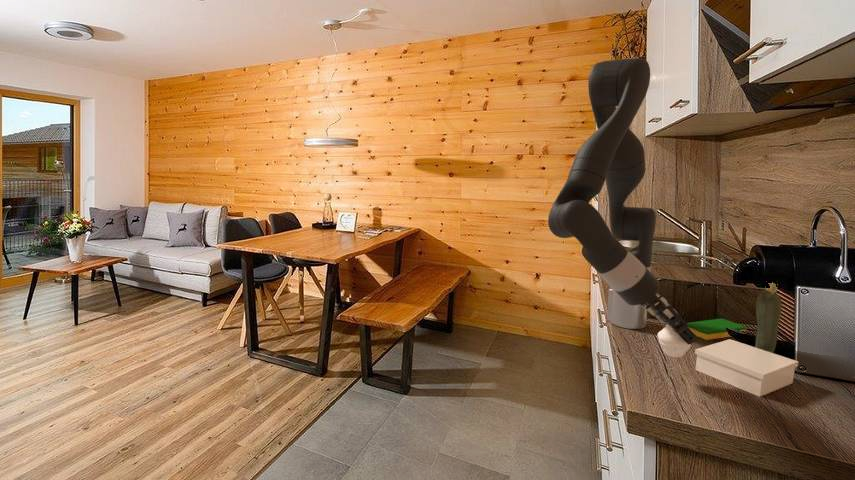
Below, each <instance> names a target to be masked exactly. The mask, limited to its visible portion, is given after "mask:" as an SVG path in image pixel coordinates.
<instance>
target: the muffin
mask: <svg viewBox="0 0 855 480" xmlns="http://www.w3.org/2000/svg"><path fill="white" fill-rule="evenodd" d="M676 324H677V323H676ZM676 324H675V325H676ZM657 338H658V343H659V345H660V347H661V350H662V351H663V354H665V355H667V356H669V357H672V358H681V357H683V356H684V355H685V354H686V353H687V351H688V350H689V348H690V347H691V345H692V344H687V343H686V342H685V341H684V340H683V339H682V338H681V337H680V336H679V335H678V334H677V333H676V332H674V331H673V329H672V328H670V327H669V326H668V325H667V324H666V325H665V327H663V328H662V329H661V330H660V331H658V332H657Z"/></svg>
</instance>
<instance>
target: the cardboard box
mask: <svg viewBox="0 0 855 480" xmlns="http://www.w3.org/2000/svg"><path fill="white" fill-rule="evenodd" d="M694 355H696V361H695V362H696V363H695V371H698V372H700V373H701V374H705V375H707V376H709V377H712V378H714V379H716V380H718V381H721V382H724V383H726V384H728V385H730V386H733V387H734V388H735V387H736V388H738V389H740V390H743V391H746V392H748V393H750V394H752V395H755V396H757V397H759V398H760V397H763V396H765V395H767V394H770V393H771V392H772V393H773V392H775V391H777V390H780V389H781V388H784V387H787V386H788V385H791V384H793V383H794V376H795V368H797V367H798V366H799V361H797V360H795V359H791V358H789V357H785V356H783V355H780V354H777V353H774V352H773V353H771V352H768V351H764V350H761V349H758V348H755V346H753V345H749V344H746V343H742V342H740V341H736V340H733V339H730V338H729V339H726V340H723V341H720V342H715V343H712V344H709V345H705V346H702V347H699V348H695V349H694Z"/></svg>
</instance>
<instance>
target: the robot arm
mask: <svg viewBox="0 0 855 480" xmlns="http://www.w3.org/2000/svg"><path fill="white" fill-rule="evenodd" d="M650 81H651V68H650V64H649V62H648V61H647V59H644V58H643V57H634V58H632V57H631V58H622V59H612V60H611V59H610V60H602V61H600V62H596V63H595V64H594V65H593V66H592V67H591V70H590V71H589V75H588V82H587V83H588V84H587V85H588V86H587V87H588V96H589V101H590V105H591V108H592V113H593V117H594V121H595V124H596V128H597V130H596V131H594V132H593V133H592V134H591V135H590V136H589V137H588V138H587V139H586V140H585V142H584V143H583V144H582V145H581V146H580V147H579V148H578V150H577V153H576V155H575V157H574V160H573V162H572V165H571V167H570V171H569V173H568V176H567V179H566V181H565V183H564V185H563V186H562V188H561V190H560V191H559V193H558V195H557V196H556V199H555V200H554V202H553V204H552V206H551V208H550V210H549V214H548V216H547V217H548V219H547V224H548V228H549V230H550V232H551V233H552V234H553V235H554V236H556V237H558V238H560V239H561V238H562V239H568V238H569V239H570V238H575V239H576V240H577V241H578V242H579V243H580V244H581V246H582V248H581V255H582V256H583V258H584V259H585V260H586V262H587V263H588V264H590V265H591V267H592V268H594V270H595V271H596V272H597V273H598V274H599V275H600V276H601V278H602V279H603V280H604V281H605V283H607V285H608V286H609V287H610V288H609V289H608V297H607V298H608V299H607V312H606V315H607V316H606V321H607V322H610V323H611V324H612V325H614V326H617V327H620V328H622V329H623V328H624V329H628V330H629V329H631V330H641V329H644V328H646V326H647V316H648V313H649V314H650V315H652V316H654V317H655V318H656V319H657V320H658V321H659V322H661V324H663V325H665V326H666V324H667V325H668V326H669V327H670V328H672V329H673V331H674V332H676V333H677V334H678V335H679V336H680V337H681V338H682V339H683V340H684V341H685V342H686V343H687V344H691V345H692V344H693V343H695V342H696V341H697V340H698V336H696V335H695V334H694V333H693V332H692V331H691V330H690V329H689V328H688V327H689V325H688V323H689V322H687V321H686V320H685V319H683V318H682V316H681V315H680V314H679V313H678V311H677V310H676V309H675V308H674V307H673V306H672V305H670V304H669V303H668V300H667V299H666V298H665V297H664V296H663V295H660V294H659V293H658V290H659V288H660V281H659V279H658V278H657V277H656V276H655V275H654V274H653V273H652V271H651V266H652V254H653V243H654V235H655V230H656V225H657V224H656V223H657V222H656V221H657V220H656V219H657V217H656V216H657V215H656V212H655V210H654V208H651V207H638V206H636V207H635V206H626V205H624V204H625V202H626V201H627V199H628V197H629V196H630V194H631V193H632V192H634V190H635V189H636V188H637V187H638V185H639V184H640V183H641V182H642V180H643V179H644V176H645V174H646V157H645V155H646V154H645V149H644V146H643V144H642V142H641V141H640V139H639V138H638V136H636V134H635V133H634V131H632V130H631V129H630V126H631V125H632V123H633V121H634V119H635V118H636V115H637V113H638V112H639V109H640V107H641V106H642V104H643V102H644V99H645V98H646V95H647V92H648V91H649V86H650ZM605 184H606V189H607V197H608V209H609V210H608V211H609V223H610V225H609V226H608V224H607V223H606V221H605V219H604V218H603V216H602V215H601V214H600V211H598V209H597V208H596V207H595V206H594V205H592V204H591V203H590V202H591V200H593V199H594V198H595V197H596V196H598V195H599V194H600V193H601V191H602V189H603V186H604V185H605ZM609 227H610V228H609ZM619 240H621V241H622V240H623V241H633V242H634V241H635V242H638V244H637V246H636V247H633V248H631V249H628V250H627V248H626V247H625V246H624V245H623V244H622V243H621V242H620V241H619ZM676 323H677V324H676ZM675 324H676V325H675Z"/></svg>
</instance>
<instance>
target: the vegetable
mask: <svg viewBox="0 0 855 480" xmlns="http://www.w3.org/2000/svg"><path fill="white" fill-rule="evenodd" d="M768 284H769V286H770V288H766V287H765V289H764V290H765V291H762V292H761V293H760V294H759V295H758V296H757V299H756V303H755V317H756V321H757V322H756V323H757V325H756V326H757V328H756V330H757V331H756V334H755V335H756V336H755V344H754V345H755V346H754V347H755V348H758V349H761V350H764V351H768V352H771V353H774V352H775V349H776V346H777V340H778V332H779V324H780V320H781V315H782V307H783V306H782V305H783V304H782V303H783V302H782V299H781V296H780V295H779V294H778V293H777V290H778V287H776V284H775V283H773V282H772V283H768Z"/></svg>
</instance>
